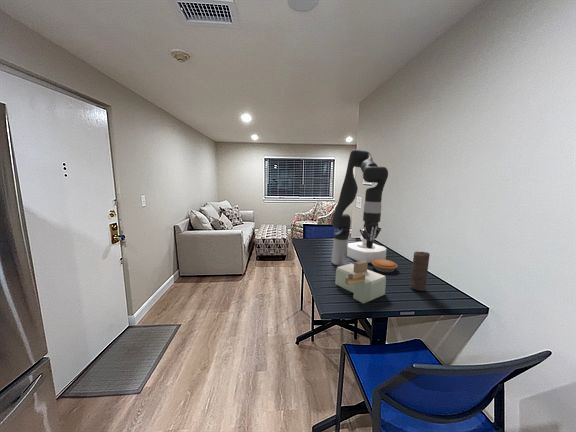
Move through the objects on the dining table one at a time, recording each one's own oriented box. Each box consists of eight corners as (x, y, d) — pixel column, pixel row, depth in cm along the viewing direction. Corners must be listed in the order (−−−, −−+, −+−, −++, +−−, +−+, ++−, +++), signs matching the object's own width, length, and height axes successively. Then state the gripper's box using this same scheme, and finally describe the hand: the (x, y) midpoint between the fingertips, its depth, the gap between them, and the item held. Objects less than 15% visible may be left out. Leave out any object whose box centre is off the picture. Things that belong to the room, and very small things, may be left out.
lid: (336, 269, 135) (337, 258, 134) (350, 265, 142) (351, 254, 141) (371, 284, 118) (372, 271, 117) (385, 279, 124) (386, 266, 123)
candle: (424, 293, 127) (429, 255, 124) (408, 290, 131) (412, 252, 128) (425, 288, 134) (430, 251, 131) (410, 284, 138) (414, 249, 134)
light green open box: (329, 285, 134) (330, 268, 132) (350, 279, 143) (351, 262, 142) (363, 303, 116) (365, 283, 115) (384, 294, 126) (386, 276, 124)
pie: (395, 266, 166) (395, 259, 165) (399, 275, 151) (399, 267, 150) (370, 263, 170) (371, 256, 169) (372, 272, 155) (372, 264, 154)
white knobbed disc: (340, 253, 191) (341, 232, 188) (365, 249, 202) (367, 230, 199) (364, 264, 169) (365, 240, 166) (390, 259, 180) (392, 237, 177)
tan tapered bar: (345, 283, 113) (345, 273, 113) (359, 278, 119) (360, 269, 118) (350, 285, 111) (351, 276, 110) (364, 280, 117) (365, 271, 116)
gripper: (374, 209, 122) (371, 244, 125) (356, 211, 114) (353, 247, 117) (388, 211, 116) (384, 248, 119) (369, 213, 108) (366, 252, 111)
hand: (369, 247), depth 118 cm, fingers closed
